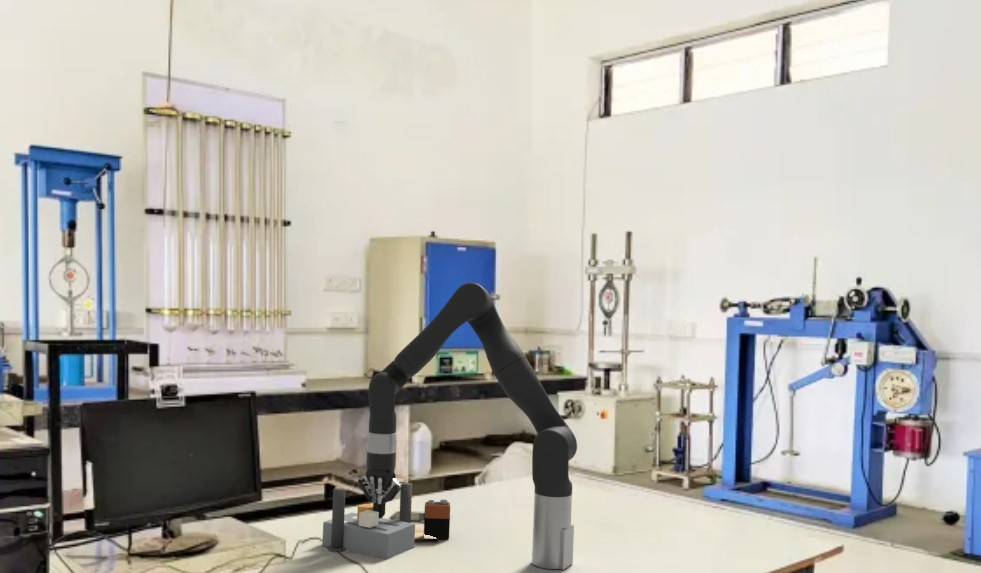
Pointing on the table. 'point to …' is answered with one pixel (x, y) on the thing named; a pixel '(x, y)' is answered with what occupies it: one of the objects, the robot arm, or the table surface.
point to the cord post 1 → (337, 520)
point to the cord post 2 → (405, 502)
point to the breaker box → (373, 536)
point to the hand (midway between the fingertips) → (378, 517)
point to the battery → (437, 519)
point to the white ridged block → (368, 518)
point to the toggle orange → (364, 508)
